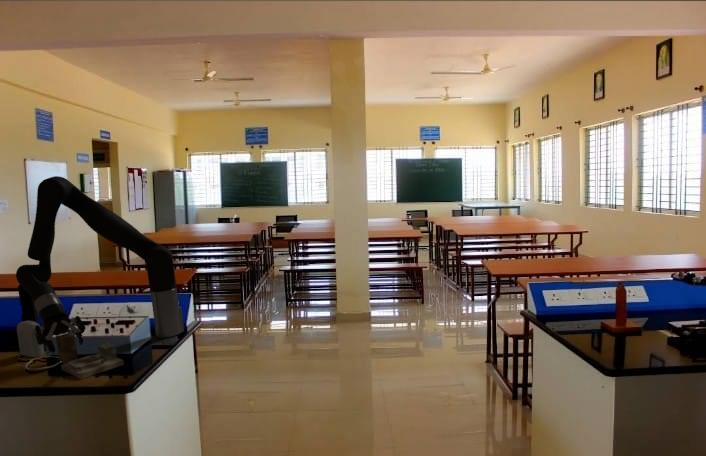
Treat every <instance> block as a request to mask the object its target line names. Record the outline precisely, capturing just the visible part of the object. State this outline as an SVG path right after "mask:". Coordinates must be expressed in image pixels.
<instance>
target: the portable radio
mask: <svg viewBox="0 0 706 456" xmlns="http://www.w3.org/2000/svg"><path fill="white" fill-rule="evenodd" d="M17 289H18V290H17V291H18V296H19V297H18V298H19V303H20V306H21V313H22V314H21V318H20V319H21V320H20V321H21V322H24V321H33V322H36V323H37V324H39V325H40V322H39V315H38V313H37V310H36V307H35V304H34V301H33V299H32V297H31V295H30V294H29V293H28V292H27V291H26V290H25V289H24V288H23V287H22V286H21V285H20V284H18V286H17ZM42 336H43V337H44V330H43V331H42Z"/></svg>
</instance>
